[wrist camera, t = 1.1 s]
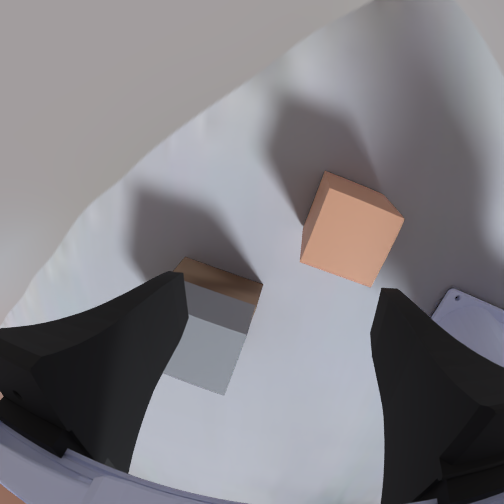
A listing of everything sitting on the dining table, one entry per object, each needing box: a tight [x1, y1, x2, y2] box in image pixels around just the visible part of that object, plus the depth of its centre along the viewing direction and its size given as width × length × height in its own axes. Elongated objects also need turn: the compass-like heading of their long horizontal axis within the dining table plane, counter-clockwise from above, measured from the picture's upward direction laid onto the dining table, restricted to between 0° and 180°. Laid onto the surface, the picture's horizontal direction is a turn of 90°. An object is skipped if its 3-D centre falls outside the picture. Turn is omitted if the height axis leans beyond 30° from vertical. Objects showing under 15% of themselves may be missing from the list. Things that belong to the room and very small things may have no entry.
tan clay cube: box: [300, 171, 405, 287], centre depth 17 cm, size 4×4×5 cm
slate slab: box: [163, 281, 256, 395], centre depth 20 cm, size 6×6×3 cm
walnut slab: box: [173, 257, 263, 317], centre depth 23 cm, size 6×6×3 cm
